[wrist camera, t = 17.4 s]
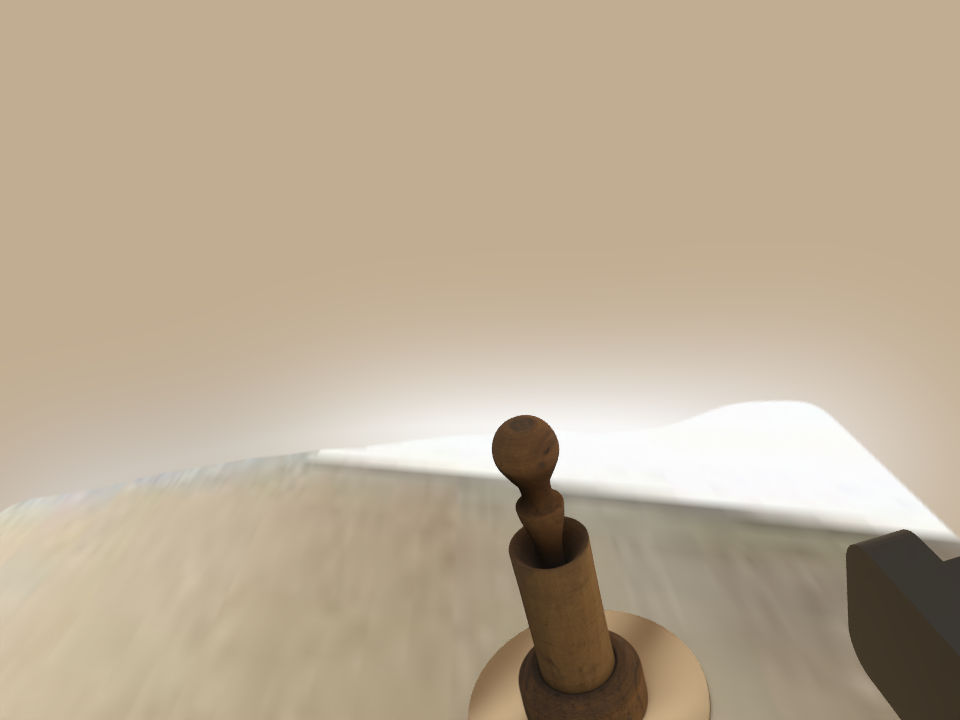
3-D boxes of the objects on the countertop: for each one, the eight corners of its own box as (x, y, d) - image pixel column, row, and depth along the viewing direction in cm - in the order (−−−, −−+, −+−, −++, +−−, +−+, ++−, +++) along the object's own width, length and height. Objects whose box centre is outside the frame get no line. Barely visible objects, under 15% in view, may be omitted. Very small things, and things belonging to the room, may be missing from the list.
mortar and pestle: (643, 648, 49) (592, 375, 40) (653, 749, 43) (596, 456, 35) (527, 659, 50) (455, 396, 42) (522, 758, 44) (438, 477, 36)
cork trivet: (423, 756, 46) (420, 748, 46) (548, 594, 55) (546, 586, 55) (642, 867, 39) (641, 859, 38) (747, 657, 47) (746, 650, 47)
